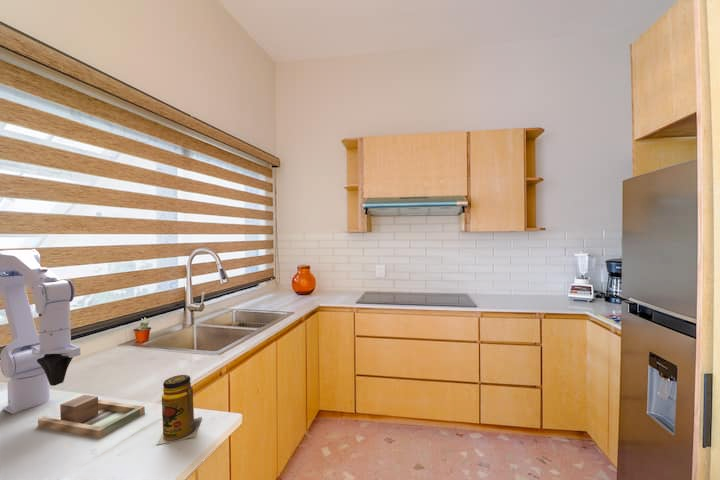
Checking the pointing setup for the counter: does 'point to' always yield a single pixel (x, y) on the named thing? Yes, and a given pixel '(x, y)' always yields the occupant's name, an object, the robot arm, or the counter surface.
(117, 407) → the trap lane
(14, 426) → the counter surface
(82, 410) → the walnut block
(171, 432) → the condiment
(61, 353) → the robot arm
